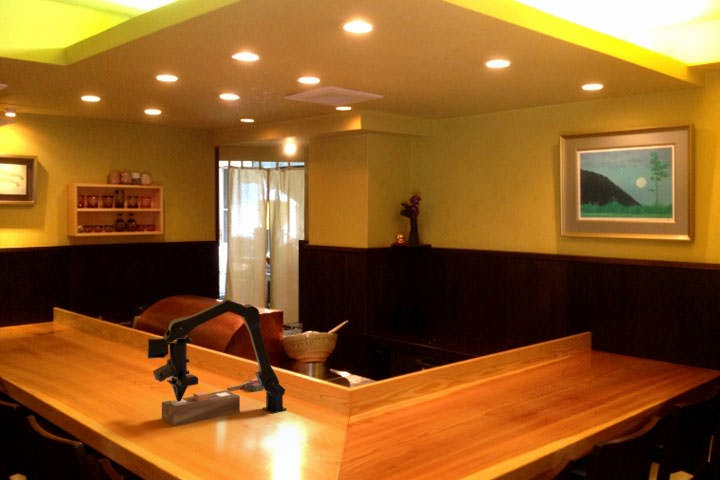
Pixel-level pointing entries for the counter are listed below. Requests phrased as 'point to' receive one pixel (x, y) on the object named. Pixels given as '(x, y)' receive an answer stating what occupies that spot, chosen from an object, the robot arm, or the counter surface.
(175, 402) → the cream plug
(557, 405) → the counter surface
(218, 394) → the cream plug
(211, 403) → the socket board
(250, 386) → the walkie-talkie
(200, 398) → the plug terracotta
